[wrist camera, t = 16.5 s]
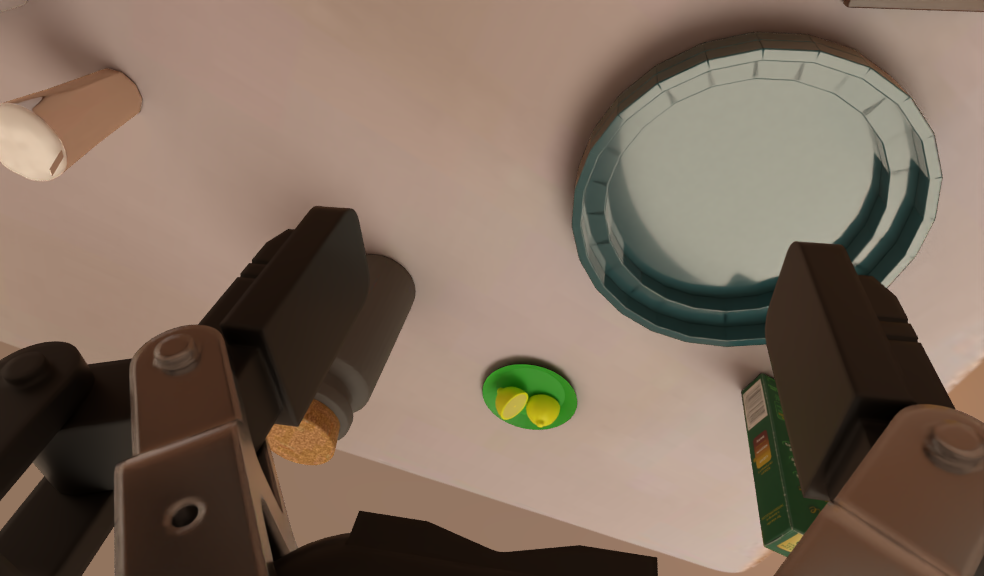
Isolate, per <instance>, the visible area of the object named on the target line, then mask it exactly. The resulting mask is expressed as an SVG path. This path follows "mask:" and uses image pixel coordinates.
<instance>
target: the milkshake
mask: <svg viewBox="0 0 984 576" xmlns="http://www.w3.org/2000/svg"><path fill="white" fill-rule="evenodd" d="M141 104H142V97H141V95H140V93H139V91H138V89H137V87H136V85H135V83H133V82H132V81H131V80H130V79H129V78H128V77H127V76H125V75H124V74H123V73H122V72H119V71H116V70H112V69H108V68H105V69H102V70H99V71H96V72H94V73H91V74H88V75H85V76H82V77H80V78H77V79H74V80H71V81H68V82H65V83H63V84H60V85H57V86H54V87H51V88H48V89H45V90H42V91H39V92H36V93H32V94H29V95H26V96H23V97H20V98H16V99H13V100H10V101H7V102H4V103H1V104H0V162H1V163H2V164H3V165H4V166H5V167H7V168H8V169H10V170H11V171H13V172H15V173H17V174H19V175H21V176H23V177H25V178H27V179H30V180H35V181H49V180H52V179H54V178H56V177H58V176H60V175H61V174H62V173H64V172H65V171H66V170H67V169H68V168H70V167H71V166H72V165H73V164H74V163H76V162H77V161H78V160H79V159H80V158H82V157H83V156H84V155H85V154H86V153H88V152H89V151H90V150H91V149H92V148H94V147H95V146H96V145H97V144H99V143H100V142H101V141H103V140H104V139H105V138H106V137H108V136H109V135H110V134H112V133H113V132H114V131H116V130H117V129H118V128H120V127H121V126H122V125H124V124H125V123H126V122H127V121H129V120H130V119H131V118H133V117H134V116H135V115H137V114H138V113H139V112H140V111H141Z"/></svg>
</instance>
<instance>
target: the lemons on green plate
mask: <svg viewBox="0 0 984 576" xmlns="http://www.w3.org/2000/svg"><path fill="white" fill-rule="evenodd" d="M482 391H483V398H484V401H485V403H486V405H487V406H488V408H489V409H490V410H491V411H492V412H493V414H495V415H496V416H497V417H499V418H500V419H502V420H503V421H505V422H507V423H509V424H512V425H514V426H517V427H521V428H525V429H533V430H543V429H550V428H554V427H557V426H559V425H561V424H564V423H565V422H567V421H568V420H569V419H570V418H571V417H572V416H573V414H574V413H575V410H576V408H577V398H576V394H575V392H574V390H573V388H572V387H571V385H570V384H569V383H568V382H567V381H566V380H565V379H564V378H562V377H561V376H560V375H558V374H556V373H555V372H553V371H551V370H548V369H546V368H543V367H539V366H535V365H527V364H515V365H510V366H505V367H503V368H500V369H498V370H496V371H494V372H493V373H492V374H490V375H489V376H488V377H487V379H486V381H485V382H484V385H483V389H482Z"/></svg>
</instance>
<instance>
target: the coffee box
mask: <svg viewBox="0 0 984 576" xmlns="http://www.w3.org/2000/svg"><path fill="white" fill-rule="evenodd" d="M741 394H742V401H743V407H744V415H745V422H746V428H747V435H748V442H749V448H750V455H751V462H752V469H753V476H754V482H755V489H756V496H757V503H758V510H759V517H760V524H761V530H762V538H763V544H764V547H766V548H768V549H770V550H773V551H775V552H777V553H779V554H781V555H784V556H786V557H788V555H789V554H790V553H791V551H792V550H793V549H794V547H795V546H796V545H797V543H798V542H799V540H800V539H801V538H802V536H803V535H804V534H805V532H806V531H807V530H808V528H809V527H810V525H811V524H812V523H813V521H814V520H815V519H816V517H817V516H818V515H819V513H820V512H821V511H822V509H823V508H824V507H825V505H826V504H827V503H828V502H829V501H823V500H816V499H809V498H803V494H802V490H801V486H800V482H799V478H798V474H797V469H796V465H795V461H794V457H793V453H792V449H791V444H790V440H789V436H788V432H787V428H786V424H785V420H784V415H783V411H782V407H781V403H780V399H779V395H778V390H777V386H776V382H775V379H773V378H771V377H769V376H767V375H765V374H763V373H761V374H760V375H759V376H758V377H757V378H756V379H755V380H754V381H753V382H751V383H750V384H749V385H748V386H747V387H746V388H745V389H743V390H742V392H741Z"/></svg>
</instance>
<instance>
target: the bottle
mask: <svg viewBox="0 0 984 576" xmlns="http://www.w3.org/2000/svg"><path fill="white" fill-rule="evenodd" d="M366 258H367V263H368V268H369V275H370V285H369V292H368V296H367V299H366V302H365V304H364V306H363V308H362V310H361V311H360V313H359V315H358V317H357V319H356V321H355V323H354V324H353V326H352V328H351V330H350V332H349V334H348V336H347V337H346V339H345V341H344V343H343V345H342V347H341V349H340V350H339V352H338V354H337V356H336V358H335V360H334V362H333V363H332V365H331V367H330V369H329V371H328V373H327V375H326V377H325V378H324V380H323V382H322V384H321V386H320V388H319V390H318V391H317V393H316V395H315V397H314V399H313V401H312V403H311V404H310V406H309V408H308V410H307V412H306V414H305V416H304V417H303V419H302V421H301V423H300V425H299V427H293V426H286V425H279V424H274V425H273V427H272V428H271V430H270V432H269V434H268V435H267V437H266V438H267V441H268V443H269V445H270V449H271V450H272V451H273V452H275V453H276V454H277V455H279V456H281V457H283V458H285V459H287V460H289V461H292V462H296V463H299V464H305V465H318V464H323V463H325V462H327V461H329V460H330V459H331V458H332V457H333V455H334V452H335V448H336V443H337V440H340V439H341V438H343V437H344V436H345V435H346V434H347V432H348V430H349V428H350V426H351V424H352V421H353V413H354V412H356V411H358V410H360V409H362V408H363V407H364V406H365V405H366V403H367V402H368V400H369V398H370V396H371V394H372V392H373V390H374V388H375V386H376V383H377V381H378V379H379V377H380V375H381V373H382V370H383V368H384V366H385V364H386V362H387V360H388V357H389V355H390V353H391V351H392V349H393V346H394V344H395V342H396V340H397V338H398V335H399V333H400V331H401V329H402V326H403V324H404V322H405V320H406V318H407V315H408V313H409V311H410V309H411V306H412V304H413V301H414V298H415V286H414V282H413V280H412V278H411V277H410V275H409V274H408V272H407V271H406V270H405V269H404V268H403V267H402V266H401V265H399V264H398V263H396V262H395V261H393V260H391V259H388V258H386V257H383V256H379V255H370V254H369V255H366Z"/></svg>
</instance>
